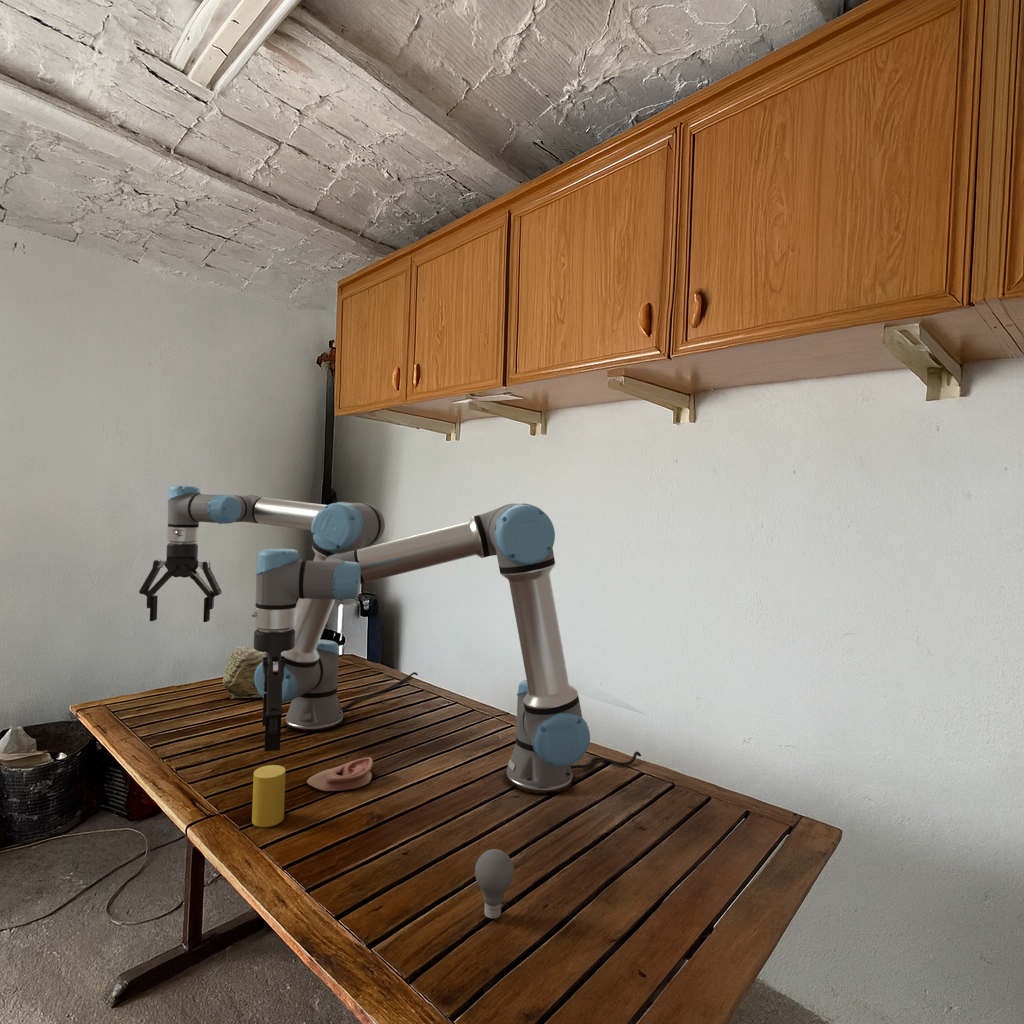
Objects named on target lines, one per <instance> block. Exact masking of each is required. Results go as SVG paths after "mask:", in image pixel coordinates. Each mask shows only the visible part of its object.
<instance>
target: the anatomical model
mask: <svg viewBox="0 0 1024 1024" xmlns="http://www.w3.org/2000/svg"><path fill="white" fill-rule="evenodd" d="M373 763H374V761H373V758H372V757H370V756H368V757H362V758H359V759H356V760H352V761H350V762H346V763H344V764H341V765H339V766H336V767H332V768H328V769H325V770H322V771H319V772H317V773H315V774H314V775H311V777H309V778H308V779H306V784H308V786H311V787H313V788H314V789H317V790H319V791H322V792H338V791H348V790H353V789H357V788H360V787H364V786H366V785H367V784H369V783H370V782H371V780H372V779H373V774H372V772H371V770H372V767H373Z"/></svg>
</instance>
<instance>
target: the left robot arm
mask: <svg viewBox="0 0 1024 1024" xmlns="http://www.w3.org/2000/svg"><path fill="white" fill-rule="evenodd" d="M385 522H386V521H385V517H384V515H383V513H382V512H381V511H380V509H379V508H378V507H376V506H375V505H373V504H370V503H366V502H347V501H337V502H334V503H330V504H320V503H313V502H305V501H296V500H288V499H279V498H272V497H271V498H270V497H262V496H260V495H259V496H258V495H254V494H253V495H252V494H250V495H238V494H237V495H236V494H203V493H201V489H200V487H199V486H192V485H191V486H189V485H172V486H170V487H169V490H168V499H167V532H166V533H167V534H166V537H167V538H166V540H167V542H169V543H167V544H166V559H165V560H162V559H155V560H153V562H152V568H151V570H150V571H149V574H148V575H147V577H146V578H145V580H144V582H143V583H142V585H141V587H140V589H139V591H138V593H139V594H140V595H144V596H146V609H149V622H154V621H156V620H158V601H159V600H158V596H159V595H156V594H157V592H158V591H159V590H160V589H161V588H162V587H163V586H164V585H165V584H166V583H167V582H168V581H170V579H171V578H172V577H173V578H190V579H191V580H192V581H193V582H195V584H196V586H197V587H198V588H199V589H200V590H201V591H202V593H204V595H205V596H206V597H204V598H203V618H202V619H203V620H202V621H203V623H207V622H210V619H211V616H210V615H211V610H213V609H214V607H215V597H217V596H219V595H221V594H223V593H222V589H221V587H220V585H219V583H218V581H217V579H216V577H215V575H214V573H213V571H212V568H211V562H210V560H205V561H199V560H198V559H199V558H198V556H199V545H198V543H197V542H199V531H200V530H199V527H200V523H209V524H210V523H211V524H213V523H214V524H219V525H222V524H225V525H227V524H233V523H251V524H259V525H260V524H261V525H267V526H275V527H281V528H282V527H283V528H290V529H296V530H304V531H310V533H311V534H312V539H313V543H312V545H311V548H312V550H313V553H314V558H313V560H312V561H323V560H324V559H325V558H327V557H328V556H330V555H333V554H336V553H345V552H349V551H355V550H357V549H361V548H366V547H370V546H373V545H375V544H376V543H378V541H379V540H380V539H381V538H382V536H383V534H384V532H385V530H386V529H385V528H386V523H385ZM164 567H165V568H166V572H165V573H164V574H163V575H162V576H161V577H160V579H159V580H157V582H156V583H155V584H154V585H153V583H154V581H155V579H156V578H157V576H158V575H159V573H160V570H161V569H162V568H164ZM199 567H200V569H201V570H202V571H203V574H204V576H205V577H206V580H207V582H205V580H204V579H203V578H202V577H201V575H200V573H199V572H198V571H197V569H198V568H199ZM207 583H209V585H208V584H207ZM152 585H153V586H152ZM151 586H152V587H151ZM335 602H336V599H306V598H305V599H301V598H297V601H296V606H297V612H296V626H295V627H293V629H294V630H295V646H294V648H293V649H291V650H288V651H283V652H281V656H284V659H285V668H284V679H283V682H282V705H283V704H286V703H289V702H290V704H289V708H288V711H287V713H286V715H285V726H286V728H287V729H289V730H291V731H294V732H295V731H296V732H301V733H316V732H325V731H329V730H332V729H335V728H337V727H339V726H340V725H342V723H343V722H344V714H343V710H344V709H347V708H349V707H350V706H351V705H353V704H354V703H356V702H359V701H362V700H364V699H367V698H370V697H373V696H375V695H379V694H381V693H384V692H386V691H389V690H391V689H393V688H396V686H398V685H401V684H402V683H403V682H405V681H406V680H408V679H409V678H411V677H413V676H414V675H415V676H419V674H418V672H416V671H414V672H411V673H410V674H409V675H407V676H405V677H404V678H403V679H401V680H400V681H398V682H396V683H394V684H392V685H390V686H388V687H385V688H383V689H381V690H378V691H374V692H372V693H370V694H366V695H363V696H361V697H358V698H356V699H353V700H351V701H350V702H348V703H346V704H345V705H343V706H341V702H340V699H339V695H338V682H339V662H340V661H339V660H340V652H339V648H340V646H339V644H338V643H337V641H334V640H328V639H321V638H322V635H323V632H324V630H325V627H326V624H327V622H328V620H329V617H330V615H331V612H332V609H333V607H334V604H335ZM254 681H255V686H256V687H257V689H258V692H259V694H260V695H261V696H262V697H261V698H262V699H263V697H264V693H267V692H264V685H263V682H264V673H263V662H262V663H261V664H260V665H259V666H258V667H257V669H256V671H255V676H254Z"/></svg>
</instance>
